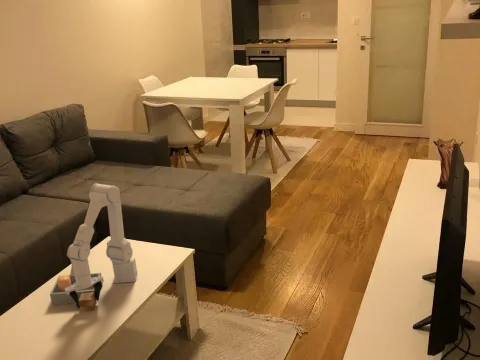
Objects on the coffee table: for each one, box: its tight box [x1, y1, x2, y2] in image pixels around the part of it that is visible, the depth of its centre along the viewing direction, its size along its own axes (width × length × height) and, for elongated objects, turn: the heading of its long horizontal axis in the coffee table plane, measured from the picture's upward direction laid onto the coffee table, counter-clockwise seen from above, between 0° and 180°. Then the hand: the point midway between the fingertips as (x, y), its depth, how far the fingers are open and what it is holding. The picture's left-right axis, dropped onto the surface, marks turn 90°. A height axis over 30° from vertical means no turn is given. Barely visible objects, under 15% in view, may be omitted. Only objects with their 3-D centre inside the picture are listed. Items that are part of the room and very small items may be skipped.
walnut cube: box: [79, 292, 98, 312], centre depth 203 cm, size 5×5×5 cm
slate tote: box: [49, 272, 104, 306], centre depth 212 cm, size 17×13×5 cm
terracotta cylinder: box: [56, 274, 71, 292], centre depth 211 cm, size 5×5×7 cm
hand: (87, 303), depth 203 cm, fingers open, 7 cm apart
